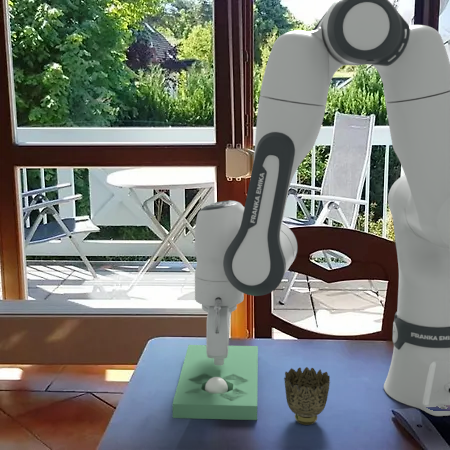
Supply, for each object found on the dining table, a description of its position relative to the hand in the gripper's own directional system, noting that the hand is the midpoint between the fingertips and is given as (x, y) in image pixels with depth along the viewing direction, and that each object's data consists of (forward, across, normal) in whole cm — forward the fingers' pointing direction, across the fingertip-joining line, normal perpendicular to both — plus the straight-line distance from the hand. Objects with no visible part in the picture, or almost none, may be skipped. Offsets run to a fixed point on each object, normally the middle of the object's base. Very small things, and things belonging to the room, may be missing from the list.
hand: (219, 362), depth 126 cm
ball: (+2, -7, 0) cm, 7 cm away
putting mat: (+4, -1, 0) cm, 4 cm away
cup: (+4, -14, -15) cm, 21 cm away
